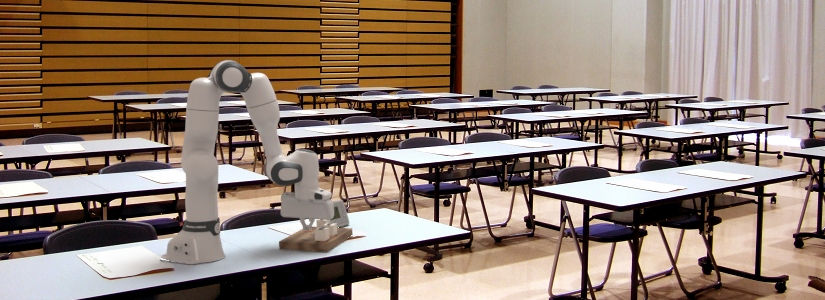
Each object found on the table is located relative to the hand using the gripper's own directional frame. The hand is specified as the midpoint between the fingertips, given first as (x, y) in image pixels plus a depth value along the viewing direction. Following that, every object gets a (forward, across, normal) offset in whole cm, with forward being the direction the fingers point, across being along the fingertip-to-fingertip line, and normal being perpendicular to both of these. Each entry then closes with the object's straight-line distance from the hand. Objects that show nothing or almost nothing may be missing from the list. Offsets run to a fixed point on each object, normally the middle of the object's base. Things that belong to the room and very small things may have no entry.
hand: (307, 230), depth 311 cm
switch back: (+3, 0, +16) cm, 17 cm away
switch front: (+3, +6, 0) cm, 7 cm away
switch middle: (+3, +6, +8) cm, 11 cm away
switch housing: (+7, 0, +9) cm, 11 cm away
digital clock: (+7, -3, +33) cm, 34 cm away
